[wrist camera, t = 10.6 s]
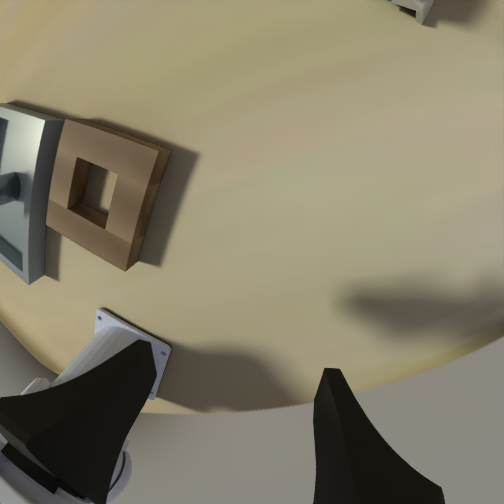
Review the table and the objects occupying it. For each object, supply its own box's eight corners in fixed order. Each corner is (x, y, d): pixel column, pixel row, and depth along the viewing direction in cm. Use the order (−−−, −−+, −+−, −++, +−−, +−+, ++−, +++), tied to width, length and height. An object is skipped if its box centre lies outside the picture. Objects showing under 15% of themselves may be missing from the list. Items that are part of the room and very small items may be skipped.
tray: (44, 275, 23) (28, 285, 21) (-9, 231, 23) (-23, 237, 21) (65, 120, 17) (45, 120, 15) (6, 103, 17) (-11, 103, 15)
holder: (137, 261, 21) (125, 271, 19) (60, 218, 21) (45, 224, 19) (171, 150, 18) (158, 151, 16) (81, 119, 17) (65, 118, 15)
